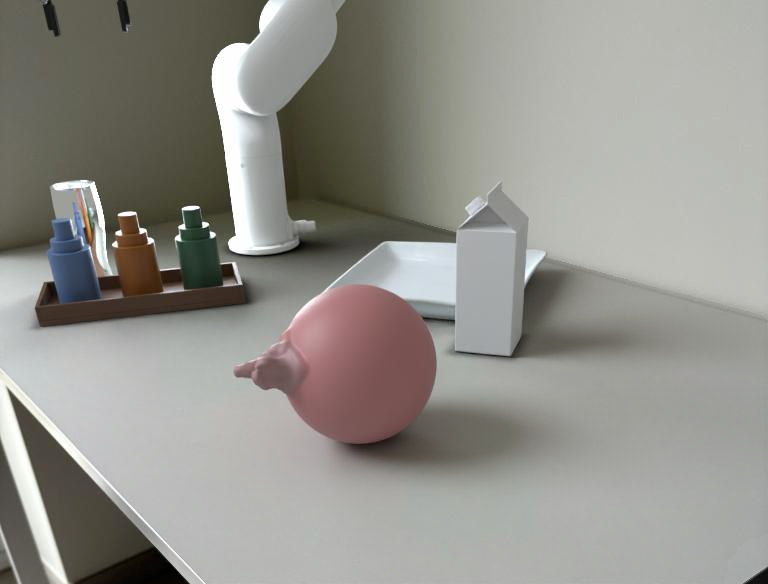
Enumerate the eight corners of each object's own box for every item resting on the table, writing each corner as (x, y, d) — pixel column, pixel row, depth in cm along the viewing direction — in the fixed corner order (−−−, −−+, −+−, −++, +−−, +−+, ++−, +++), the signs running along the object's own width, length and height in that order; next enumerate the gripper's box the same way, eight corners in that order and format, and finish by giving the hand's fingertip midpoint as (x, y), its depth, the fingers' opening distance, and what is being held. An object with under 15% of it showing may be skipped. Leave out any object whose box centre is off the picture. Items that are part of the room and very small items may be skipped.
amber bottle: (164, 288, 124) (148, 207, 117) (164, 300, 119) (148, 216, 112) (124, 292, 122) (106, 211, 116) (123, 305, 118) (104, 220, 111)
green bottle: (222, 281, 125) (210, 201, 119) (225, 293, 120) (213, 210, 114) (183, 285, 124) (169, 205, 117) (185, 298, 119) (170, 214, 113)
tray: (238, 279, 129) (235, 261, 127) (245, 303, 119) (242, 284, 117) (48, 299, 123) (43, 281, 122) (39, 326, 113) (34, 307, 112)
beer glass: (63, 286, 129) (38, 188, 120) (92, 273, 134) (69, 178, 126) (98, 290, 126) (74, 190, 118) (126, 277, 132) (105, 180, 123)
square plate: (384, 261, 134) (383, 237, 131) (547, 272, 125) (549, 247, 123) (319, 316, 113) (317, 289, 110) (511, 334, 104) (513, 305, 102)
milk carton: (521, 336, 104) (531, 181, 93) (510, 358, 98) (519, 195, 88) (468, 332, 106) (471, 179, 95) (454, 352, 100) (456, 193, 90)
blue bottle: (103, 294, 122) (84, 213, 115) (101, 307, 117) (81, 223, 110) (62, 299, 121) (41, 217, 114) (59, 312, 116) (36, 227, 109)
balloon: (231, 424, 86) (209, 283, 77) (405, 392, 91) (402, 256, 82) (261, 495, 74) (239, 337, 65) (460, 453, 79) (463, 301, 70)
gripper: (126, -112, 113) (151, 29, 123) (-3, -108, 110) (33, 36, 119) (125, -117, 107) (151, 31, 117) (-11, -114, 104) (27, 39, 113)
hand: (91, 34), depth 118 cm, fingers open, 9 cm apart
